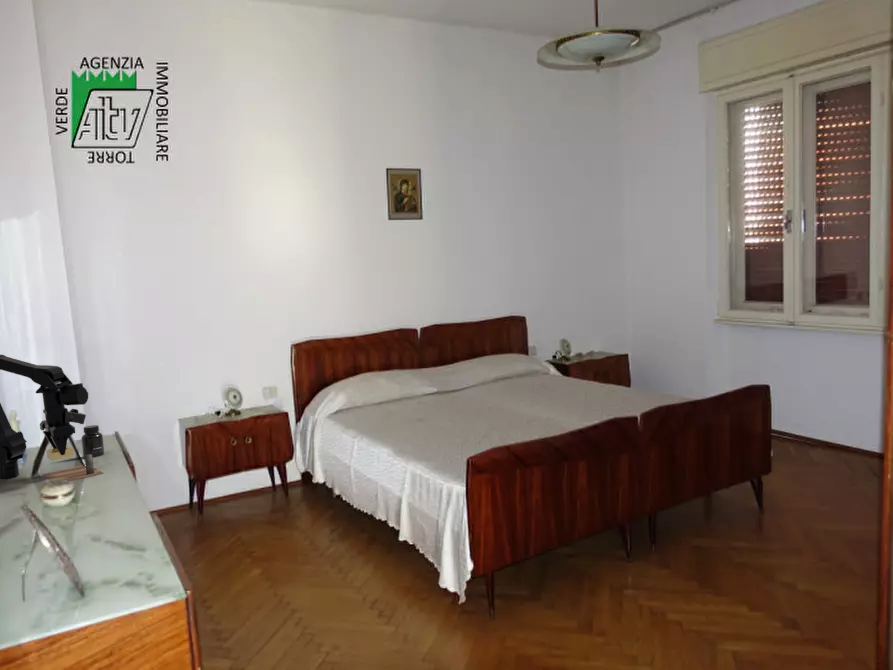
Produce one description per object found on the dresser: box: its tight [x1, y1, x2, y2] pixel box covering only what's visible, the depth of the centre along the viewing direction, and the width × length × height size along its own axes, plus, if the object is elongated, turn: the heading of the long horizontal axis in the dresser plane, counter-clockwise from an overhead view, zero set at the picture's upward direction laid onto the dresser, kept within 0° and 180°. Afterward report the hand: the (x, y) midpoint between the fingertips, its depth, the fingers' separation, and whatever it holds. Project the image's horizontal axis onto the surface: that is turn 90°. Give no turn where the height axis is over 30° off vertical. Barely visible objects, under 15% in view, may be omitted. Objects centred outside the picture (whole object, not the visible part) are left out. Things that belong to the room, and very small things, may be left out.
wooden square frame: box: [46, 445, 75, 462], centre depth 226 cm, size 6×6×2 cm
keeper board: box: [41, 454, 105, 483], centre depth 227 cm, size 18×14×8 cm
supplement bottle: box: [81, 424, 105, 459], centre depth 249 cm, size 7×7×12 cm
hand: (60, 453), depth 226 cm, fingers closed on wooden square frame, 6 cm apart
